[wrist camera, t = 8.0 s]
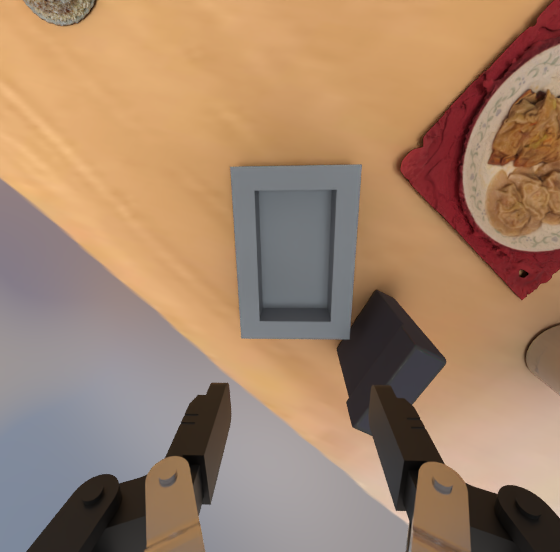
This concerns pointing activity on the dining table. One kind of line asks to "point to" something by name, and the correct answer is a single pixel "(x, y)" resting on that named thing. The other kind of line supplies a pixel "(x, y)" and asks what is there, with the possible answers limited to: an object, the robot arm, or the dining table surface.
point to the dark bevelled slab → (385, 357)
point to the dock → (295, 249)
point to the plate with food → (503, 159)
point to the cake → (60, 10)
